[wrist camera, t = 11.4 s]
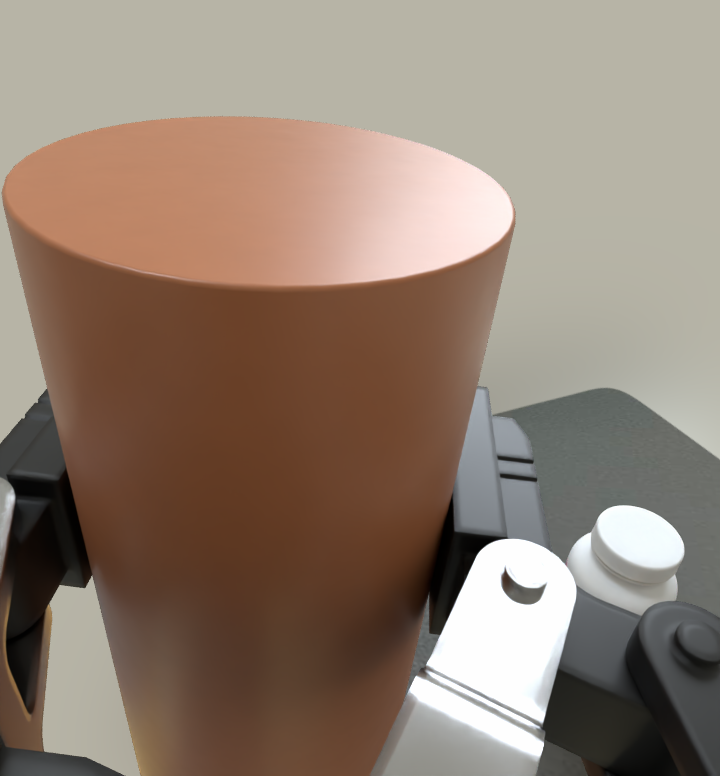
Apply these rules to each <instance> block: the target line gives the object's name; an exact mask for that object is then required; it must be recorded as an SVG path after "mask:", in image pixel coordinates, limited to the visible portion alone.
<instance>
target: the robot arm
mask: <svg viewBox="0 0 720 776" xmlns="http://www.w3.org/2000/svg"><path fill="white" fill-rule="evenodd" d="M533 461H534V459H533V454H532V449H531V444H530V439H529V437H528V436H527V435H526V434H525V432H524V431H523V430H522V428H521V427H520V426H519V424H518V423H517V422H516V421H515V419H514V418H506V417H498V416H492V413H491V406H490V399H489V391H488V388H487V387H481V386H477V390H476V394H475V398H474V402H473V407H472V411H471V415H470V420H469V424H468V428H467V432H466V437H465V441H464V445H463V450H462V454H461V458H460V462H459V467H458V471H457V475H456V479H455V484H454V488H453V492H452V497H451V501H450V505H449V509H448V514H447V518H446V522H445V527H444V531H443V535H442V539H441V544H440V548H439V552H438V557H437V561H436V565H435V569H434V574H433V578H432V582H431V586H430V591H429V633H430V634H438V635H440V638H439V640H438V642H437V644H436V646H435V649H434V651H433V653H432V655H431V657H430V659H429V661H428V663H427V665H426V667H425V668H421V669H420V671H419V672H418V674H417V676H416V678H415V680H414V682H413V684H412V686H411V688H410V690H409V692H408V694H407V696H406V698H405V700H404V703H403V705H402V707H401V709H400V711H399V713H398V716H397V718H396V720H395V722H394V724H393V726H392V728H391V731H390V733H389V735H388V737H387V739H386V741H385V744H384V746H383V748H382V750H381V752H380V754H379V756H378V759H377V761H376V763H375V765H374V767H373V769H372V771H371V774H370V776H536V773H537V769H538V765H539V761H540V757H541V753H542V749H543V744H544V739H545V740H547V741H549V742H551V743H553V744H555V745H557V746H559V747H562V748H564V749H566V750H568V751H570V752H572V753H574V754H576V755H578V756H580V757H581V758H582V761H583V764H584V766H585V769H586V771H587V774H588V776H720V618H719V617H717V616H716V615H714V614H713V613H711V612H709V611H707V610H705V609H703V608H701V607H698V606H696V605H693V604H689V603H686V602H679V601H664V602H659V603H656V604H654V605H652V606H650V607H649V608H648V609H647V610H646V611H645V612H644V613H643V615H642V616H640V615H638V614H635V613H633V612H630V611H628V610H625V609H623V608H620V607H618V606H615V605H613V604H610V603H608V602H605V601H603V600H601V599H599V598H596V597H594V596H592V595H591V594H589V593H587V592H586V591H584V590H583V589H581V588H580V587H579V586H577V585H576V584H575V581H574V578H573V576H572V574H571V572H570V571H569V569H568V568H567V567H566V565H565V564H564V563H563V562H562V561H561V560H560V559H559V558H558V557H557V556H556V555H554V554H553V552H552V548H551V543H550V538H549V533H548V528H547V523H546V518H545V514H544V509H543V504H542V499H541V494H540V489H539V484H538V482H537V474H536V469H535V464H533ZM91 576H92V571H91V567H90V563H89V559H88V555H87V551H86V547H85V542H84V538H83V534H82V530H81V526H80V522H79V517H78V513H77V509H76V505H75V501H74V497H73V493H72V488H71V484H70V480H69V476H68V472H67V468H66V463H65V459H64V455H63V451H62V447H61V443H60V439H59V434H58V430H57V426H56V422H55V418H54V414H53V410H52V405H51V401H50V397H49V393H48V389H46V390H45V392H44V393H43V394H42V395H41V396H40V398H39V399H38V403H34V405H33V406H32V407H31V408H30V409H29V410H28V412H27V413H26V414H25V418H24V419H21V420H20V421H19V422H18V424H17V425H16V426H15V427H14V428H13V429H12V431H11V432H10V433H9V434H8V435H7V437H6V438H5V439H4V440H3V441H2V442H1V444H0V776H124V775H122V774H120V773H118V772H116V771H114V770H112V769H110V768H108V767H105V766H103V765H101V764H99V763H97V762H95V761H93V760H91V759H88V758H86V757H79V756H70V755H64V754H56V753H48V752H44V749H43V738H42V722H43V711H44V700H45V690H46V679H47V668H48V658H49V646H50V635H51V625H52V611H51V607H50V604H49V603H50V601H51V599H52V597H53V596H54V594H55V592H56V590H57V588H58V587H59V585H65V586H73V587H80V588H85V587H86V585H87V583H88V582H89V580H90V578H91Z"/></svg>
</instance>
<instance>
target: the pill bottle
mask: <svg viewBox="0 0 720 776" xmlns="http://www.w3.org/2000/svg"><path fill="white" fill-rule="evenodd" d="M683 556H684V544H683V541H682V539H681V537H680V536H679V534H678V533H677V531H676V530H675V529H674V528H673V527H672V526H671V525H670V524H669V523H668V522H667V521H665V520H664V519H663V518H661V517H660V516H658V515H656V514H654V513H652V512H650V511H648V510H645V509H642V508H638V507H634V506H614V507H611V508H609V509H607V510H605V511H604V512H603V513H602V514H601V515H600V516H599V518H598V520H597V522H596V524H595V526H594V528H593V530H592V532H591V533H589V534H587V535H585V536H583V537H582V538H580V539H579V540H578V541H577V542H576V543H575V545H574V546H573V548H572V550H571V552H570V554H569V556H568V559H567V561H566V564H565V565H566V567H567V568H568V569H569V571H570V572H571V574H572V576H573V578H574V581H575V584H576V585H577V586H579V587H580V588H581V589H583V590H584V591H586V592H587V593H589V594H591V595H592V596H594V597H596V598H599V599H601V600H603V601H605V602H608V603H610V604H613V605H615V606H618V607H620V608H623V609H625V610H628V611H630V612H633V613H635V614H638V615H640V616H642V615H643V613H644V612H645V611H646V610H647V609H648V608H649V607H650V606H652V605H654V604H656V603H659V602H664V601H676V597H677V591H678V587H677V580H676V576H675V573H676V572H677V570H678V567H679V565H680V563H681V562H682V559H683Z"/></svg>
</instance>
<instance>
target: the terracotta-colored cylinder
mask: <svg viewBox="0 0 720 776" xmlns="http://www.w3.org/2000/svg"><path fill="white" fill-rule="evenodd" d="M2 199H3V206H4V210H5V214H6V219H7V223H8V227H9V231H10V235H11V239H12V243H13V248H14V252H15V256H16V260H17V264H18V268H19V272H20V276H21V280H22V285H23V289H24V293H25V297H26V301H27V305H28V310H29V314H30V318H31V322H32V327H33V331H34V335H35V339H36V343H37V347H38V351H39V355H40V359H41V364H42V368H43V372H44V376H45V380H46V385H47V389H48V393H49V397H50V401H51V405H52V410H53V414H54V418H55V422H56V426H57V430H58V434H59V439H60V443H61V447H62V451H63V455H64V459H65V463H66V468H67V472H68V476H69V480H70V484H71V488H72V493H73V497H74V501H75V505H76V509H77V513H78V517H79V522H80V526H81V530H82V534H83V538H84V542H85V547H86V551H87V555H88V559H89V563H90V567H91V571H92V576H93V580H94V584H95V588H96V592H97V596H98V600H99V604H100V609H101V613H102V617H103V621H104V625H105V630H106V633H107V638H108V642H109V646H110V650H111V654H112V659H113V663H114V667H115V671H116V675H117V679H118V683H119V688H120V692H121V696H122V700H123V704H124V708H125V713H126V717H127V721H128V725H129V729H130V733H131V737H132V742H133V745H134V750H135V754H136V758H137V762H138V767H139V771H140V775H141V776H370V774H371V771H372V769H373V767H374V765H375V763H376V761H377V759H378V756H379V754H380V752H381V750H382V748H383V746H384V744H385V741H386V739H387V737H388V735H389V733H390V731H391V728H392V726H393V724H394V722H395V720H396V718H397V716H398V713H399V711H400V709H401V707H402V705H403V702H404V698H405V693H406V689H407V685H408V681H409V676H410V672H411V668H412V663H413V659H414V655H415V651H416V646H417V642H418V638H419V634H420V629H421V625H422V621H423V616H424V612H425V608H426V604H427V599H428V595H429V591H430V586H431V582H432V578H433V574H434V569H435V565H436V561H437V557H438V552H439V548H440V544H441V539H442V535H443V531H444V527H445V522H446V518H447V514H448V509H449V505H450V501H451V497H452V492H453V488H454V484H455V479H456V475H457V471H458V467H459V462H460V458H461V454H462V450H463V445H464V441H465V437H466V432H467V428H468V424H469V420H470V415H471V411H472V407H473V402H474V398H475V394H476V390H477V385H478V381H479V377H480V372H481V368H482V364H483V360H484V355H485V351H486V347H487V343H488V338H489V334H490V330H491V325H492V320H493V317H494V312H495V308H496V304H497V300H498V295H499V291H500V287H501V283H502V278H503V274H504V269H505V265H506V261H507V256H508V252H509V248H510V244H511V240H512V235H513V231H514V227H515V209H514V206H513V203H512V200H511V198H510V197H509V195H508V194H507V192H506V191H505V190H504V188H503V187H502V186H500V185H499V184H498V183H497V182H496V181H495V180H494V179H493V178H491V177H490V176H489V175H487V174H485V173H484V172H483V171H481V170H480V169H478V168H476V167H474V166H472V165H471V164H469V163H467V162H465V161H463V160H461V159H459V158H456V157H454V156H452V155H450V154H447V153H445V152H442V151H440V150H437V149H434V148H432V147H429V146H426V145H423V144H419V143H416V142H413V141H410V140H407V139H403V138H399V137H395V136H391V135H387V134H383V133H378V132H373V131H369V130H364V129H358V128H353V127H347V126H341V125H335V124H327V123H320V122H312V121H302V120H291V119H278V118H263V117H223V116H222V117H221V116H220V117H190V118H171V119H161V120H151V121H142V122H135V123H128V124H122V125H117V126H111V127H106V128H101V129H97V130H93V131H89V132H85V133H81V134H78V135H75V136H72V137H69V138H65V139H62V140H59V141H57V142H54V143H52V144H50V145H48V146H45V147H43V148H41V149H39V150H37V151H36V152H33V153H32V154H30V155H28V156H26V157H25V158H24V159H23V160H21V161H20V162H19V163H18V164H17V165H15V166H14V167H13V169H12V170H11V171H10V173H9V174H8V175H7V177H6V179H5V183H4V186H3V189H2Z"/></svg>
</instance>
